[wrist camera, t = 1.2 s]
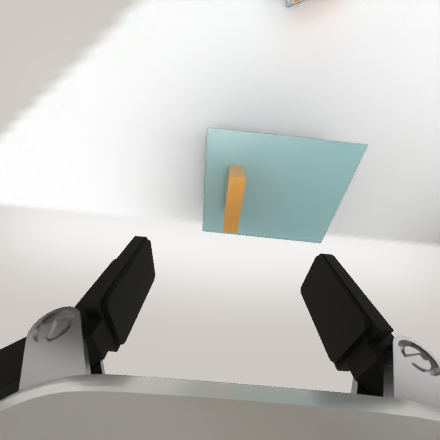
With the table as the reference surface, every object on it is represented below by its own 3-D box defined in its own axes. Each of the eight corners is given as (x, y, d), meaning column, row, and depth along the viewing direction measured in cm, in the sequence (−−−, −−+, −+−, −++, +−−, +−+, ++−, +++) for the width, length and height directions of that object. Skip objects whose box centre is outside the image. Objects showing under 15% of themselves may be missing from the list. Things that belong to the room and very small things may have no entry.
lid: (359, 143, 19) (412, 151, 14) (316, 237, 26) (340, 269, 20) (208, 127, 19) (200, 129, 14) (203, 225, 26) (196, 254, 20)
